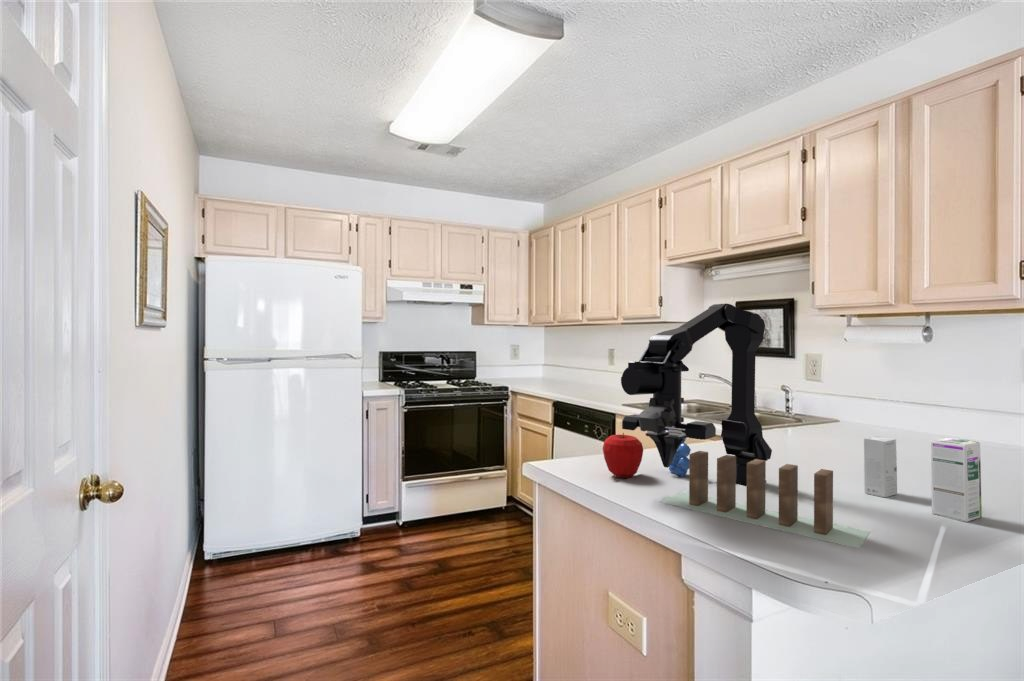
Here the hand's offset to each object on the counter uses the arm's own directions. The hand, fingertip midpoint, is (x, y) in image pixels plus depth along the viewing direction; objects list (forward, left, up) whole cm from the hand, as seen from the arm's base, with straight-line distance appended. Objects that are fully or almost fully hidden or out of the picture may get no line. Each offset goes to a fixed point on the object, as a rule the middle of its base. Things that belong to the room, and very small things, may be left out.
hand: (666, 467), depth 109 cm
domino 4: (0, +23, -6) cm, 24 cm away
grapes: (-19, -8, -7) cm, 22 cm away
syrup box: (-29, +45, -7) cm, 54 cm away
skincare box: (-37, +32, -7) cm, 49 cm away
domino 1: (0, +7, -6) cm, 9 cm away
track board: (0, +18, -7) cm, 19 cm away
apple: (-9, -16, -7) cm, 20 cm away
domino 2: (0, +12, -6) cm, 14 cm away
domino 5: (0, +29, -6) cm, 30 cm away
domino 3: (0, +18, -6) cm, 19 cm away
